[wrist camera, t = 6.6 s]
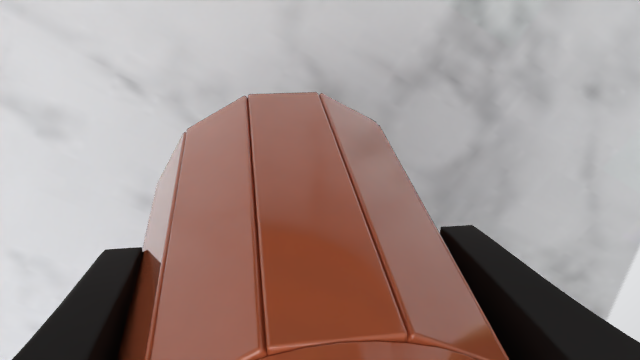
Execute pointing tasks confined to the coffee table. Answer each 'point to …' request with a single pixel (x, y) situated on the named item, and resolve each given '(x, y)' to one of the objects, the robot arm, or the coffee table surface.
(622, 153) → the coffee table surface
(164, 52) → the coffee table surface
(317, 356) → the orange cylinder
